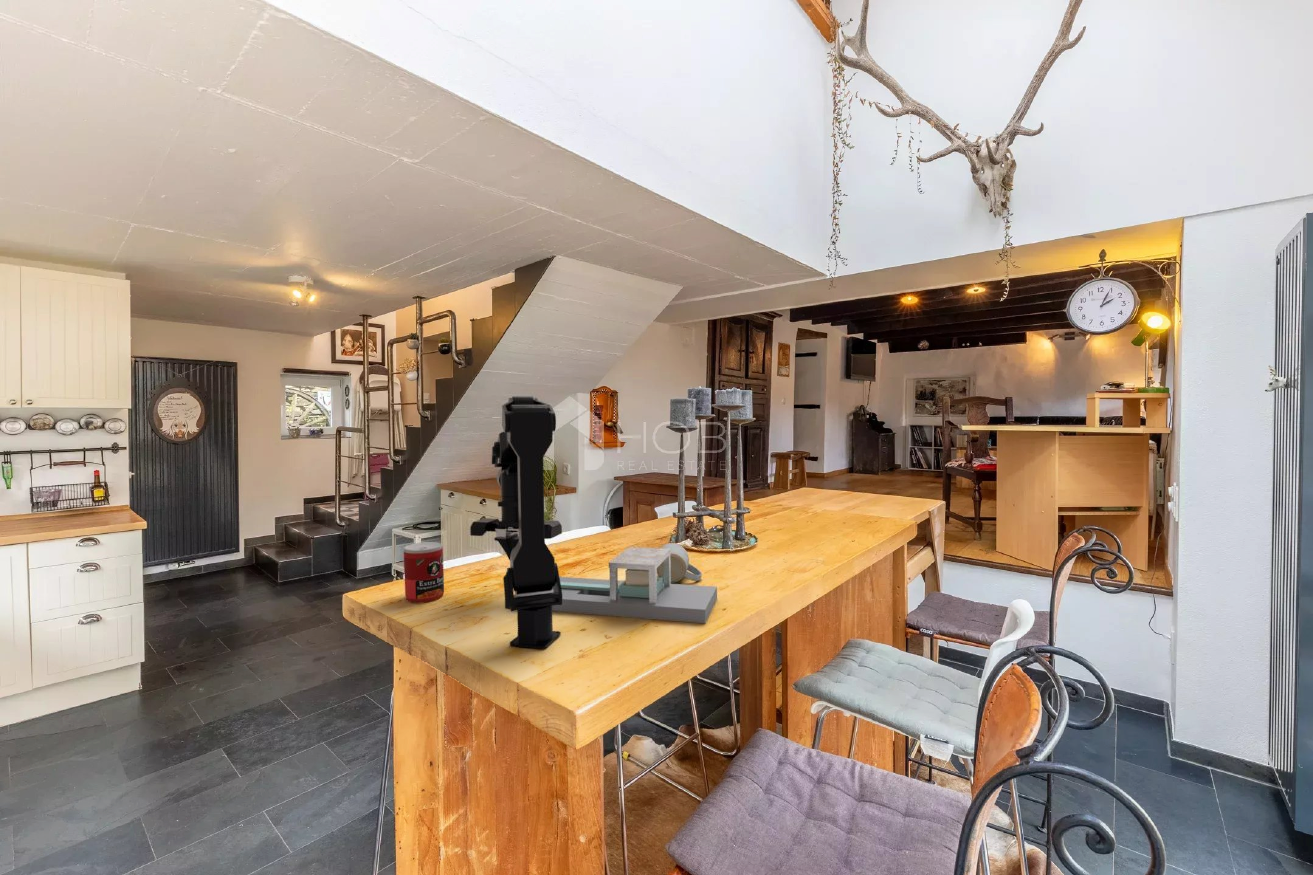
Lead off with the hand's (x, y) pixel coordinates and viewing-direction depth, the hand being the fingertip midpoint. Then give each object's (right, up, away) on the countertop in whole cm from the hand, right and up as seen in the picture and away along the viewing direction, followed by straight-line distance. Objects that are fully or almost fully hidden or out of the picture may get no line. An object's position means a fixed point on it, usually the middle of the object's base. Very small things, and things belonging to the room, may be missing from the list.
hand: (516, 568), depth 118 cm
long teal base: (+17, -3, -4) cm, 18 cm away
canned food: (-20, -6, 0) cm, 21 cm away
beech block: (+27, -3, -7) cm, 28 cm away
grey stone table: (+27, -3, -7) cm, 28 cm away
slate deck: (+22, -6, -5) cm, 23 cm away
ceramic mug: (+34, -5, +11) cm, 37 cm away
